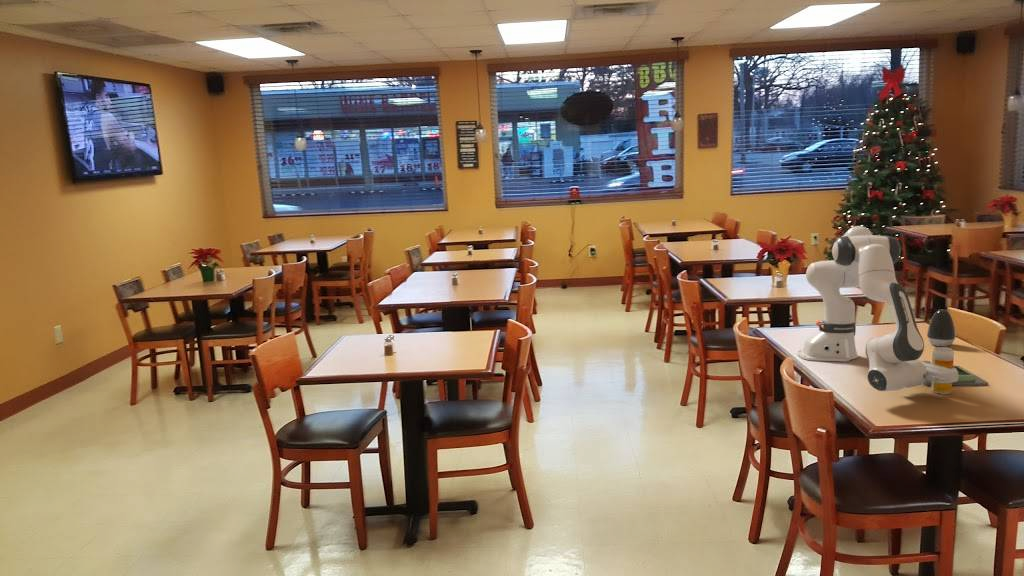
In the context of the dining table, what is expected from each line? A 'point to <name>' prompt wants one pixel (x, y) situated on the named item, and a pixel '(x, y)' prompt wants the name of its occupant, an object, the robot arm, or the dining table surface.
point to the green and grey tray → (964, 378)
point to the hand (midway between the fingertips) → (941, 366)
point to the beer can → (944, 359)
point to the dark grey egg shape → (941, 329)
